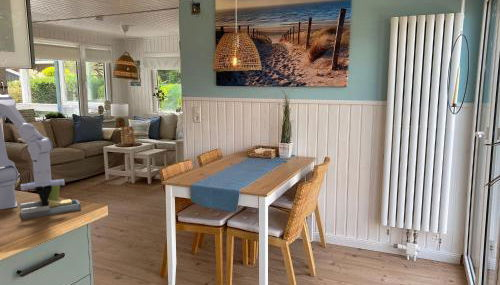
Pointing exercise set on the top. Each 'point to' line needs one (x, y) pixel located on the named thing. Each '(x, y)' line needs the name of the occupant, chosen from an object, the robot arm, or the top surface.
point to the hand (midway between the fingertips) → (44, 205)
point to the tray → (66, 207)
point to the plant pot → (54, 193)
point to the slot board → (34, 210)
